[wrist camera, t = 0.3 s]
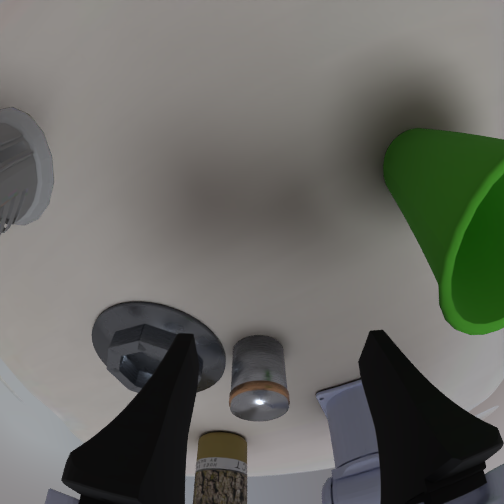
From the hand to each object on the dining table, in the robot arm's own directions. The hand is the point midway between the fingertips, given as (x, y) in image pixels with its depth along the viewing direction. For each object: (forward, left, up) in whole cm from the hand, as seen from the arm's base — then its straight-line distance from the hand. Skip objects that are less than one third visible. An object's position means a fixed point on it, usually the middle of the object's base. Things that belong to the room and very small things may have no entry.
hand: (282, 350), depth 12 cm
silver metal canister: (-11, +5, -10) cm, 15 cm away
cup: (+1, -11, -10) cm, 15 cm away
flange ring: (-8, +14, -10) cm, 19 cm away
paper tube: (-28, +17, -10) cm, 34 cm away
